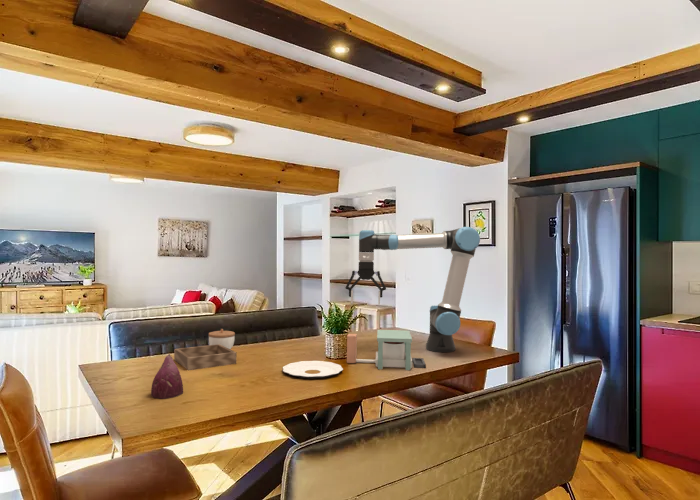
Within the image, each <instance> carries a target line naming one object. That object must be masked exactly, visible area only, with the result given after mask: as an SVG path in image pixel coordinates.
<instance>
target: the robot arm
mask: <svg viewBox="0 0 700 500" xmlns="http://www.w3.org/2000/svg"><path fill="white" fill-rule="evenodd" d="M480 241H481V236H480V234H479V232H478V231H477V230H476V229H475V228H473V227H472V226H471V227H470V226H462V227H459V228H456V229H455V228H454V229H451V230H443V232H438V233H437V232H436V233H433V232H432V233H412V234H410V233H409V234H377V233H375V231H374V230H372V229H371V230H370V229H369V230H367V229H366V230H365V229H364V230H363V229H362V230H360V231H359V235H358V260H359V262H358V270H352V272H351V275H350V277H349V280H348V282H347V284H346V285H345V287H344V289H346V290H348V297H349V298H350V304H351V305H353V304H354V290H353V288H354V287H355V286H356V285H357V284H358V283H359V281H365V280H367V281H369V280H371V281H372V283H374V285H375V286H376V287H377V288H378V289H379V290H378V302H377V303H378V305H380V304H381V298H383V291H386V290H387V287H386V285H385V283H384V281H383V279H382V277H381V272H380V271H379V270H378V271H377V270H376V271H375V269H374V268H375V267H374V266H375V264H374V263H375V262H374V261H375V255H374V254H375V250H382V251H387V250H388V251H389V250H390V251H393V250H394V251H396V250H411V249H412V250H413V249H431V248H432V249H435V248H438V249H439V248H443V249H444V250H450V253H451V255H452V257H451V262H450V266H449V270H448V275H447V278H446V283H445V288H444V292H443V296H442V301H441V302H440V303H438V304H437V305H431V306H430V307H429V336H428V337H427V338H428V339H427V340H426V344H425V348H426V349H425V350H428V351H430V352H431V351H432V352H435V353H436V352H437V353H451V352H455V351H456V344H455V342H454V338H453V335H454V334H456V333H457V332H458V331H459V330H460V328H461V319H460V318H461V314H462V309H461V307H460V303H461V299H462V295H463V291H464V286H465V283H466V278H467V274H468V269H469V266H470V265H469V264H470V262H471V261H470V260H471V259H472V258H474V256H475V254H476V249H477V248H478V246H479V245H480ZM356 275H358V278H357V279H356V280H355V281H354V282H353V283H352V281H353V279H354V277H355V276H356ZM374 275H376V277H377V278H378V280H379V282H380V284H381V286H382V287H381V286H380V285H379V283H378V282H377V280H375V278H374ZM351 283H352V285H351Z"/></svg>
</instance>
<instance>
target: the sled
mask: <svg viewBox="0 0 700 500" xmlns="http://www.w3.org/2000/svg"><path fill="white" fill-rule="evenodd" d="M346 337H347V339H346V342H347V343H346V363H347V364H356V363H370V364H371V363H375V367H377V368H378V351H375V359H364V358H363V359H362V358H357V352H358V351H357V349H358V348H357V346H358V345H357V344H358V342H357V341H358V340H357V339H358V338H357V337H358V334H357V333H348V334H347V336H346ZM412 358H413V357H411V363H410V369H412V368H413V362H412ZM405 366H406V353H405V360H395V359H383V366H382V368H405Z"/></svg>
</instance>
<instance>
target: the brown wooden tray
mask: <svg viewBox="0 0 700 500" xmlns="http://www.w3.org/2000/svg"><path fill="white" fill-rule="evenodd" d="M173 361H174V362H176V363H177V364H179V365H180V366H181V367H183V368H185V369H186V370H187V371H193V370H201V369H207V368H208V369H209V368H215V367H223V366H228V365H236V364H237V352H236V351H234V350H233V349H232V348H231V349H229V348H226V347H224V346H222V345H220V344H216V345H210V344H208V345H198V346H191V347H190V346H189V347H180V348H175V349H174V355H173Z"/></svg>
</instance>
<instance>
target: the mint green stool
mask: <svg viewBox="0 0 700 500" xmlns="http://www.w3.org/2000/svg"><path fill="white" fill-rule="evenodd" d="M376 334H377V335H376V341H377V352H378V367H377V370H383V367H382V366H383V342H405V353H406V366H405V371H411V368H410V363H411V358H412V354H411V353H412V350H411V349H412V348H411V347H412V343H413V337H412V335H411V332H410V330H399V329H377V332H376Z"/></svg>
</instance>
